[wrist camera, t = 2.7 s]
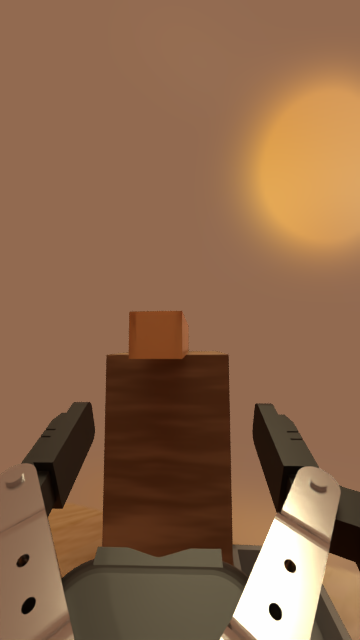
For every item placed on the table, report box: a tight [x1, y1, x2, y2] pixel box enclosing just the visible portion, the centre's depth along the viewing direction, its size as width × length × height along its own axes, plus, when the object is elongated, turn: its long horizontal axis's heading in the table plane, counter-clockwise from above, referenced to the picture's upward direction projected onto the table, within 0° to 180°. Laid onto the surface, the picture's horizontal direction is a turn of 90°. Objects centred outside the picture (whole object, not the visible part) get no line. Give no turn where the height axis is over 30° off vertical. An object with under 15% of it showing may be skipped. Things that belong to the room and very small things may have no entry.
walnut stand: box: [102, 351, 233, 565], centre depth 35 cm, size 14×14×32 cm
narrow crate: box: [129, 311, 189, 359], centre depth 31 cm, size 18×4×4 cm, turn 176°
